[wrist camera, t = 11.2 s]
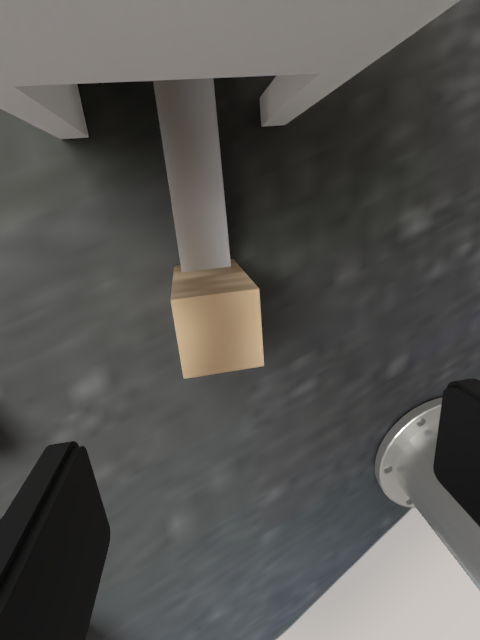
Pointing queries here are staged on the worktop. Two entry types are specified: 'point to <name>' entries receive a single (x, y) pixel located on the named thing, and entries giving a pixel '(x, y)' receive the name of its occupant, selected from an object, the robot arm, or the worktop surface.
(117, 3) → the cabinet
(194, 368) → the push stick
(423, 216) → the worktop surface
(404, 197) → the worktop surface
